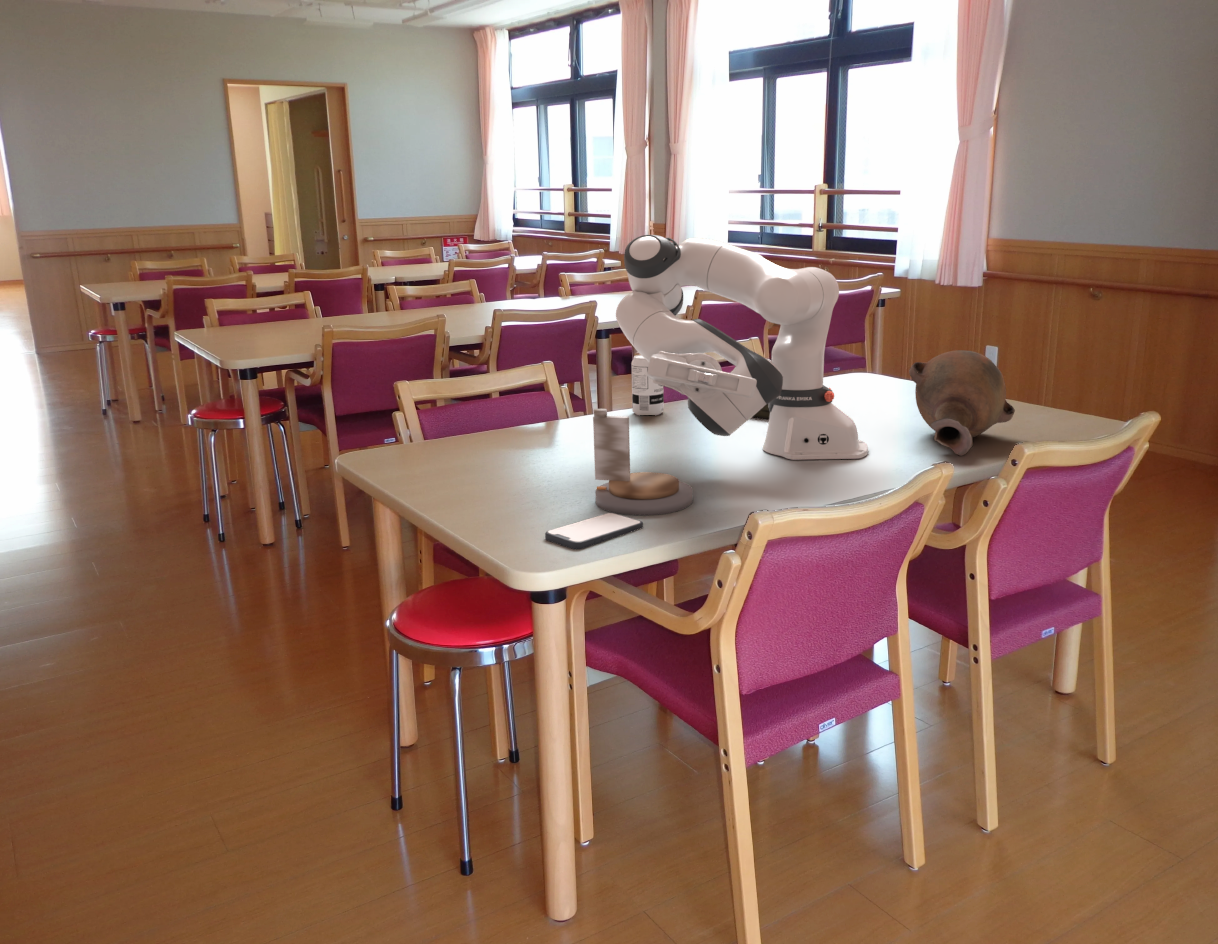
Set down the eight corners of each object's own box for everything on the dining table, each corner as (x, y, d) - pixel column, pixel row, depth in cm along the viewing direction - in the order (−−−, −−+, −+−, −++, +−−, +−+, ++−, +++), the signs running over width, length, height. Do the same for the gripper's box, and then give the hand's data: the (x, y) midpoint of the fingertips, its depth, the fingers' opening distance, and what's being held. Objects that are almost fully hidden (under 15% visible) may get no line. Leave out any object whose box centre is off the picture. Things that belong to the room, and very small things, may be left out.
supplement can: (630, 410, 263) (629, 354, 259) (661, 409, 264) (660, 353, 260) (634, 417, 255) (632, 359, 251) (665, 415, 256) (665, 358, 252)
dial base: (699, 489, 190) (699, 476, 190) (684, 517, 173) (684, 504, 173) (608, 485, 194) (607, 473, 194) (584, 513, 177) (584, 500, 177)
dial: (686, 481, 187) (685, 405, 183) (669, 501, 175) (668, 420, 172) (606, 477, 192) (604, 402, 188) (585, 496, 180) (582, 417, 176)
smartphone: (610, 520, 175) (541, 540, 165) (610, 511, 175) (541, 531, 164) (646, 530, 169) (577, 553, 159) (646, 521, 169) (577, 543, 158)
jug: (931, 423, 238) (906, 475, 214) (915, 346, 232) (888, 390, 208) (1021, 413, 228) (1006, 465, 204) (1007, 332, 222) (990, 376, 198)
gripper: (748, 403, 191) (756, 407, 177) (644, 381, 191) (645, 383, 177) (755, 371, 190) (765, 373, 176) (651, 349, 190) (653, 348, 176)
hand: (704, 377), depth 177 cm, fingers closed
